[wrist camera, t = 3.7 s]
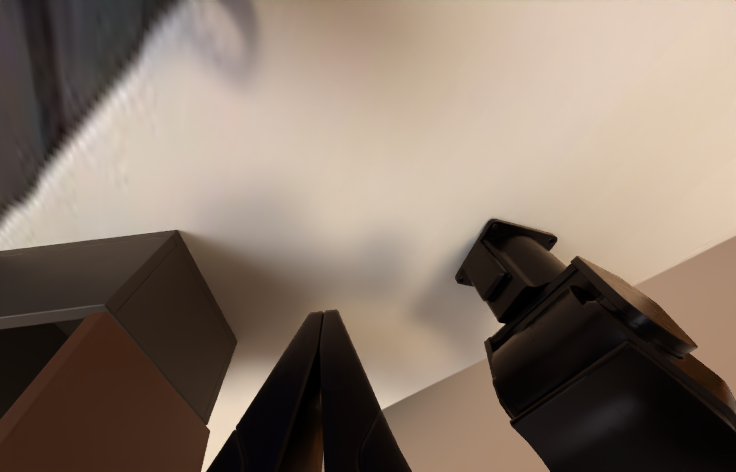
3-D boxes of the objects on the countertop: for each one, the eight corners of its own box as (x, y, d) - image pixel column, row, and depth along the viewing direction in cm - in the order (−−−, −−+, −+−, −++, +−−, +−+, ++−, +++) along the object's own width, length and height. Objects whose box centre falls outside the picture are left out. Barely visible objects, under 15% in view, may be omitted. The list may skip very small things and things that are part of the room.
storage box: (98, 360, 26) (23, 451, 20) (-14, 252, 19) (-178, 340, 13) (237, 341, 26) (207, 425, 20) (177, 229, 19) (104, 304, 13)
